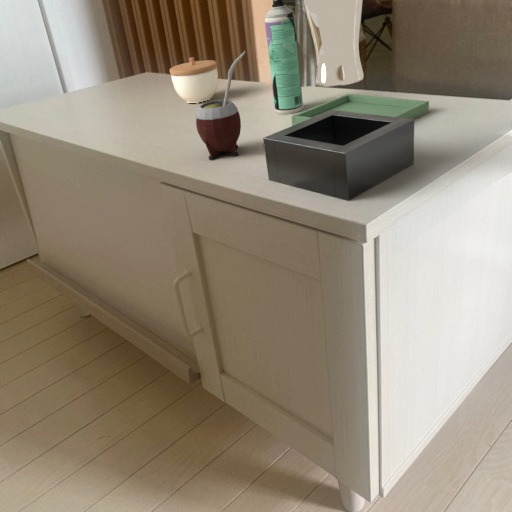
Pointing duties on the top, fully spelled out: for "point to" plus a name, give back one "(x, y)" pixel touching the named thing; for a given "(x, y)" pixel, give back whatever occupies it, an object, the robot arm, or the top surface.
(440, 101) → the top surface
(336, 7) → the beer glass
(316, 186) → the basin
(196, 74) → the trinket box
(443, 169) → the top surface
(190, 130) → the top surface
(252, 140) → the top surface
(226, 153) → the mate gourd
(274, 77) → the spray can
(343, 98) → the tray
